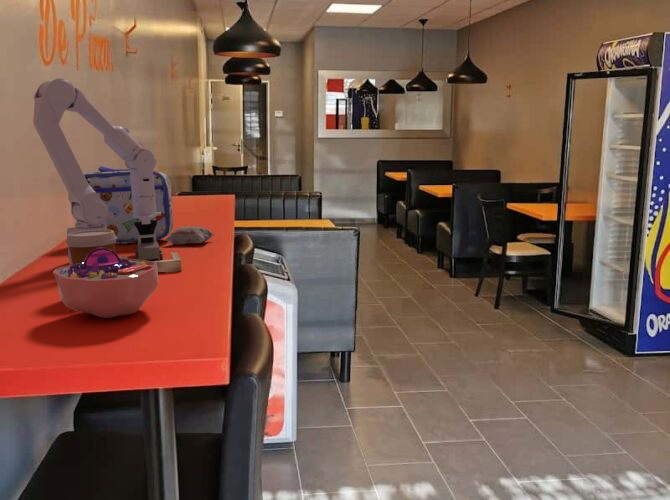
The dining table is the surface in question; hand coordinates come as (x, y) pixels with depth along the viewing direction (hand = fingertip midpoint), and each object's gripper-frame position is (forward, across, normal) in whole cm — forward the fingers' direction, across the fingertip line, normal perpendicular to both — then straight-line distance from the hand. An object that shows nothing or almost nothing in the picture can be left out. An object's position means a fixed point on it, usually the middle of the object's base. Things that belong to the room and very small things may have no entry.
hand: (147, 248), depth 183 cm
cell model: (+2, -62, +8) cm, 62 cm away
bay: (+1, -21, 0) cm, 21 cm away
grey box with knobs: (+1, -7, 0) cm, 7 cm away
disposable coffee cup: (+2, -43, +11) cm, 44 cm away
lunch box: (+2, +25, +5) cm, 25 cm away
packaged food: (+2, +12, -12) cm, 17 cm away
